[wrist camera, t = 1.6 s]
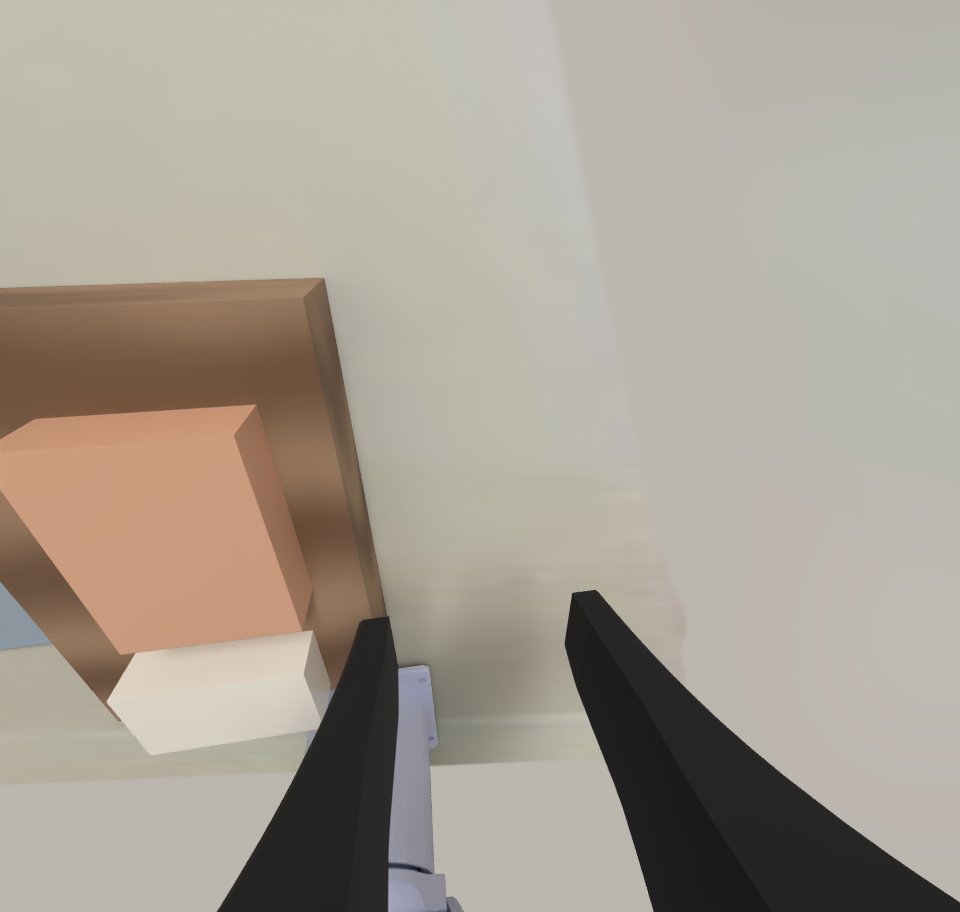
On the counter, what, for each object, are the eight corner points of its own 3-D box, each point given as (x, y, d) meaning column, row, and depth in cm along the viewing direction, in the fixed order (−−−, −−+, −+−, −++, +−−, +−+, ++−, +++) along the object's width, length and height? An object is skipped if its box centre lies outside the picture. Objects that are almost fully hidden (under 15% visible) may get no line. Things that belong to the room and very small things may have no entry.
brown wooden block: (388, 622, 24) (385, 682, 21) (156, 652, 22) (118, 721, 19) (324, 277, 14) (302, 298, 12) (-81, 290, 13) (-224, 317, 10)
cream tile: (330, 684, 20) (324, 727, 19) (173, 707, 19) (150, 755, 18) (313, 630, 18) (303, 674, 16) (135, 653, 17) (106, 702, 16)
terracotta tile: (312, 588, 17) (302, 631, 15) (150, 607, 16) (120, 654, 15) (256, 404, 13) (233, 435, 11) (34, 419, 12) (-26, 454, 10)
